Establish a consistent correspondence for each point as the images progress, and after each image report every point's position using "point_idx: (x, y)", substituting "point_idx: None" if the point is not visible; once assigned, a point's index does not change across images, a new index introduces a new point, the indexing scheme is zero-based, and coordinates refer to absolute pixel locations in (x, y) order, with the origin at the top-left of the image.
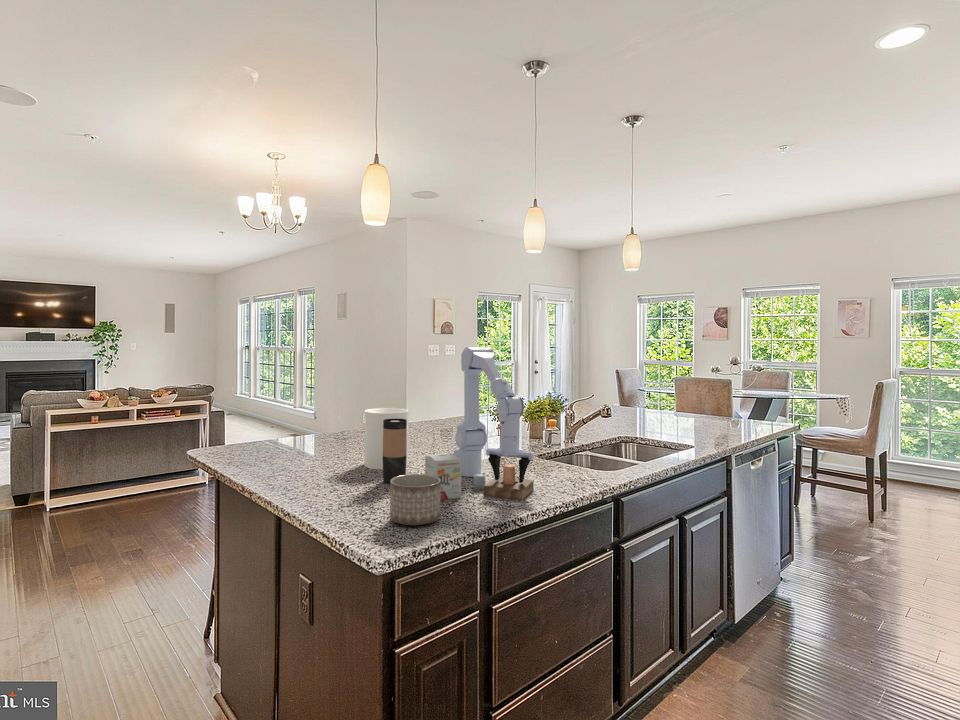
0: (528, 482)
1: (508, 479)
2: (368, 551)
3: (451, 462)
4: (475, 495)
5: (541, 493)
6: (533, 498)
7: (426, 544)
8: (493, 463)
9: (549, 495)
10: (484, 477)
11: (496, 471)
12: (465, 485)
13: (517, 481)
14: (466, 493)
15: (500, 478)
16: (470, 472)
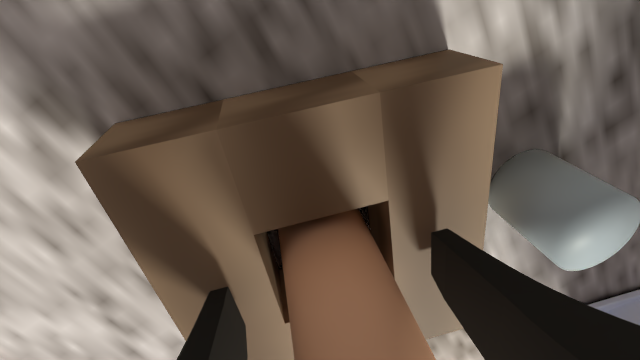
0: None
1: (324, 263)
2: None
3: None
4: (506, 10)
5: (138, 321)
6: (89, 215)
7: None
8: (606, 346)
9: (65, 322)
10: (549, 234)
11: (485, 285)
12: (613, 179)
13: None
14: (584, 18)
15: (436, 305)
16: (627, 320)
